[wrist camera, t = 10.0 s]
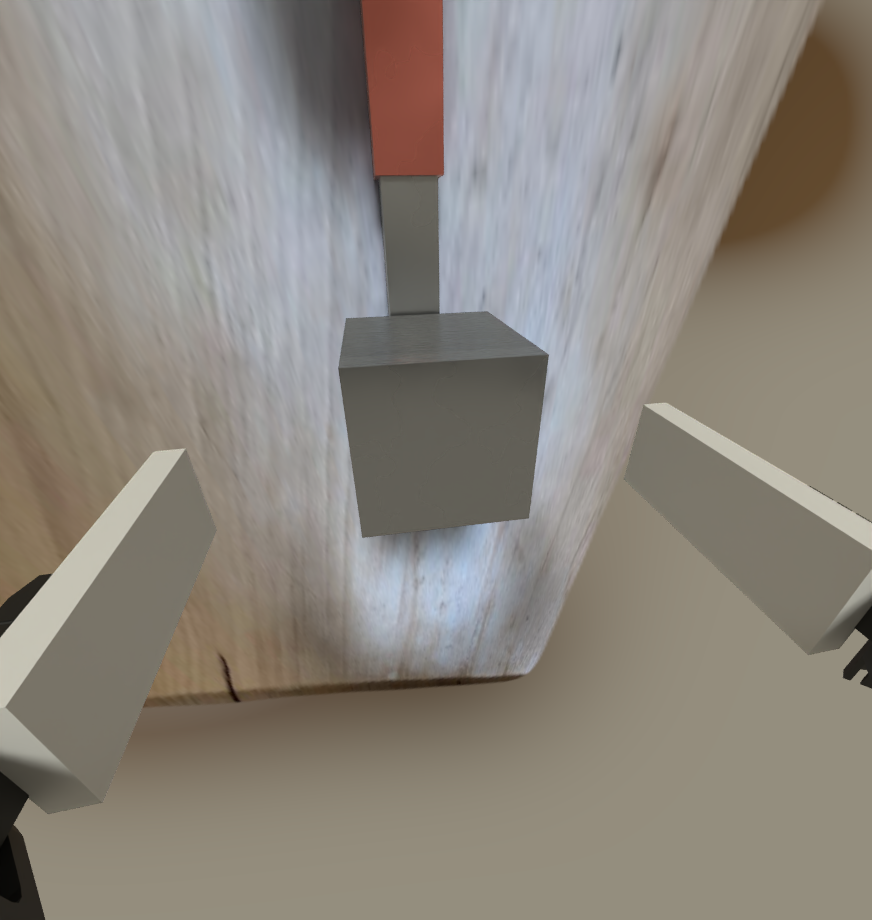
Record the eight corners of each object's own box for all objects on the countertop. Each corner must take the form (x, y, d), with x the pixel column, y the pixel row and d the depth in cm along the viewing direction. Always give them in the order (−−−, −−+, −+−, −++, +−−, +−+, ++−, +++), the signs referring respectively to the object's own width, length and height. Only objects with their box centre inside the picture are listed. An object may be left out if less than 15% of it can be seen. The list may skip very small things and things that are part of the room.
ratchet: (368, 416, 22) (370, 470, 17) (315, -56, 14) (290, -213, 9) (461, 408, 23) (489, 459, 18) (469, -47, 14) (525, -187, 9)
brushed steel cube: (362, 446, 21) (362, 537, 15) (346, 318, 17) (338, 368, 11) (481, 435, 21) (528, 518, 15) (487, 311, 18) (548, 354, 12)
